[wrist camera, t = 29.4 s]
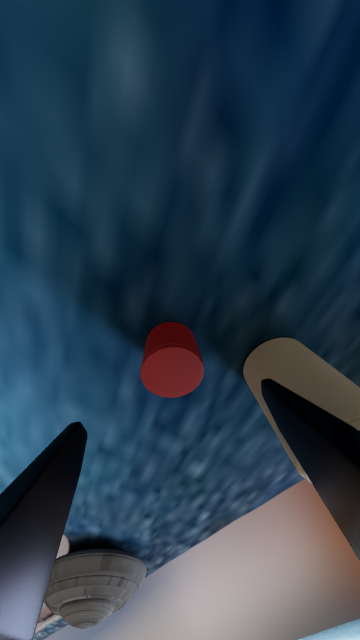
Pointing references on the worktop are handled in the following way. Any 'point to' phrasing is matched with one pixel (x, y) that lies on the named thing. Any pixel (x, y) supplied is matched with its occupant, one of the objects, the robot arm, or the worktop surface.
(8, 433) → the worktop surface
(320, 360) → the bottle
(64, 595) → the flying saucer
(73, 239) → the worktop surface
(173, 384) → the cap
